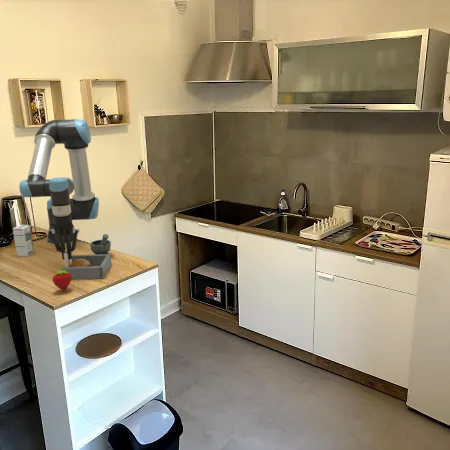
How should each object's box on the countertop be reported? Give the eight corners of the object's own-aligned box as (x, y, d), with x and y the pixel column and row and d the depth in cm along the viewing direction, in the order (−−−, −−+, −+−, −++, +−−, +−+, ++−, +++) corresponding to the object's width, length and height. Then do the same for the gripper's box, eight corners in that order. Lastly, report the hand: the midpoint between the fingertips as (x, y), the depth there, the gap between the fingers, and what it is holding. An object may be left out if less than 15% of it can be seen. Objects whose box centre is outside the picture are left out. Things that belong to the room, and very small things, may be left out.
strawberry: (51, 291, 183) (48, 268, 180) (68, 285, 188) (66, 263, 185) (58, 295, 179) (55, 271, 176) (76, 289, 184) (73, 266, 181)
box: (73, 265, 211) (71, 255, 209) (111, 264, 211) (110, 254, 210) (62, 279, 194) (60, 268, 193) (103, 278, 195) (102, 267, 194)
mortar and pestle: (87, 256, 222) (85, 232, 219) (104, 251, 229) (102, 228, 226) (100, 261, 215) (98, 237, 212) (117, 256, 222) (115, 232, 218)
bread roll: (95, 278, 205) (97, 260, 206) (84, 276, 195) (86, 258, 196) (74, 276, 207) (76, 259, 208) (63, 275, 197) (65, 256, 198)
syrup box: (27, 256, 223) (23, 228, 219) (16, 256, 224) (12, 227, 220) (34, 252, 228) (30, 224, 224) (23, 252, 229) (19, 224, 225)
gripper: (43, 216, 191) (50, 269, 198) (75, 216, 192) (80, 268, 198) (49, 212, 198) (55, 263, 205) (79, 211, 199) (85, 262, 205)
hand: (67, 266), depth 201 cm, fingers closed
